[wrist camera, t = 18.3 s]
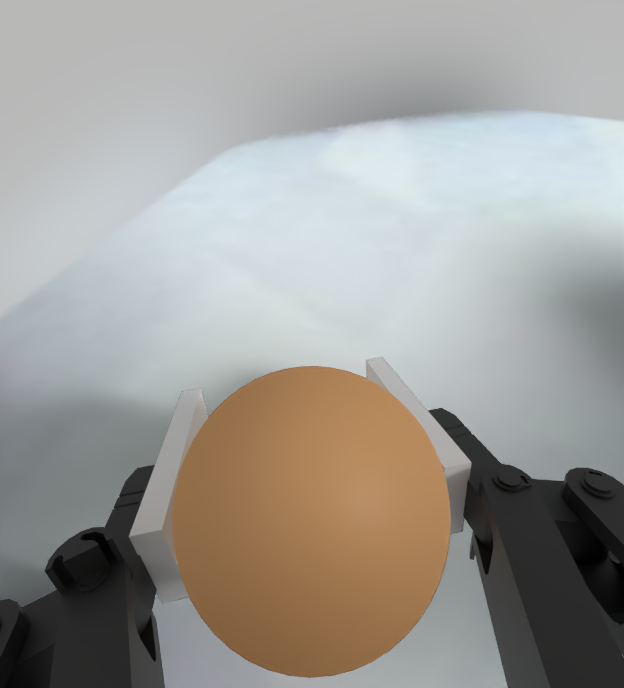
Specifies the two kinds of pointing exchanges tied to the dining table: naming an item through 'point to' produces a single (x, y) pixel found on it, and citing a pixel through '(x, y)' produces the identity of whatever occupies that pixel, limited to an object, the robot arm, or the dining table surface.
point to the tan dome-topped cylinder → (311, 521)
